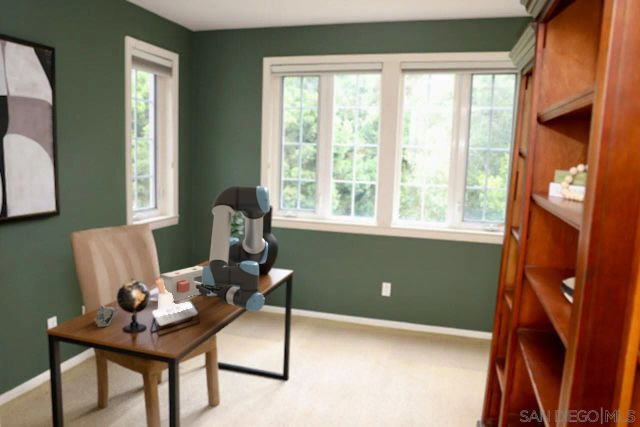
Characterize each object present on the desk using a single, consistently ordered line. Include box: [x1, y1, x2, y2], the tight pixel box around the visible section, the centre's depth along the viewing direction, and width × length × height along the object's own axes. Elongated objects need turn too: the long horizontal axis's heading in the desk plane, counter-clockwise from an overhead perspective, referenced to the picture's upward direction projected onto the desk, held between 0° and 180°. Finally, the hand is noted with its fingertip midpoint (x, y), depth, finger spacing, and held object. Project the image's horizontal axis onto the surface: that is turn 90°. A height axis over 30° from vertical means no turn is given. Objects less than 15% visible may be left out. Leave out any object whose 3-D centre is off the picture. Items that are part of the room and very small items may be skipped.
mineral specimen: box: [94, 305, 120, 328], centre depth 182 cm, size 10×8×10 cm
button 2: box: [177, 281, 190, 293], centre depth 211 cm, size 4×6×4 cm
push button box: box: [159, 265, 204, 303], centre depth 221 cm, size 30×7×12 cm, turn 145°
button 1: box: [194, 276, 202, 283], centre depth 221 cm, size 4×6×4 cm
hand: (193, 284), depth 206 cm, fingers closed
